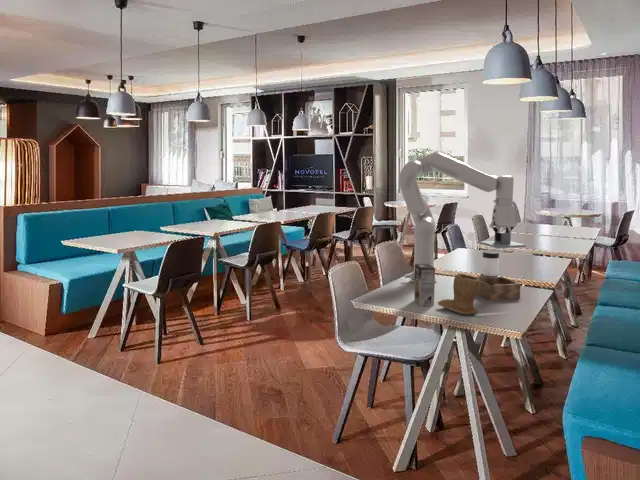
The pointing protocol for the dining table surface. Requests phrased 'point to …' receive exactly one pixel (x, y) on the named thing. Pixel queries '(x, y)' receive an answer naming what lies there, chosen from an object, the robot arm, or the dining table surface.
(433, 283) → the coffee box
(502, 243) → the lid
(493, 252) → the jar
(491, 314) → the dining table surface
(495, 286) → the box
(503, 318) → the dining table surface
